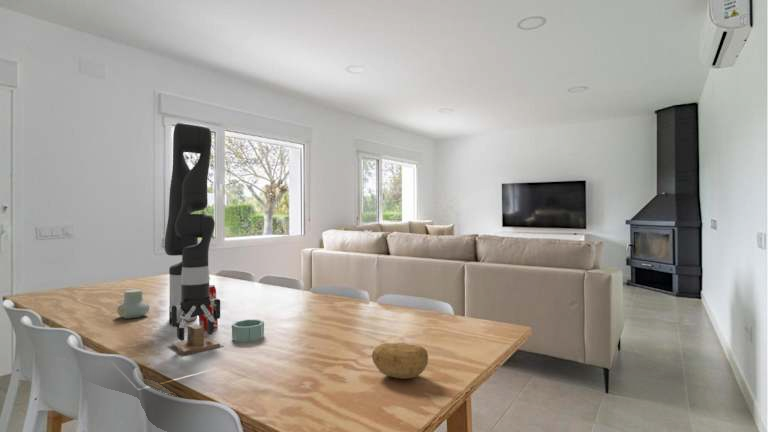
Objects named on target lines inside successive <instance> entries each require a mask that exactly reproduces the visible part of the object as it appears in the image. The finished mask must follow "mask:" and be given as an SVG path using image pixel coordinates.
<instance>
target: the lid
mask: <svg viewBox="0 0 768 432" xmlns="http://www.w3.org/2000/svg"><path fill="white" fill-rule="evenodd" d="M186 330H187V332H186V333H187V334H186V335H187V339H184V340H183V341H181V340H179V341H177V342H172V343H171V346H172V347H173V348H174V349H176V350H177V351H179V352H180V353H182V354H183V355H187V354H191V353H195V352H199V351H203V350H208V349H212V348H216V347H220V345H221V343H220V342H218V341H216V340H214V339H213V338H211V337H209V336H207V335H205V331H204V327H202V326H200V325H199V323H193V324H188V325H187V329H186Z"/></svg>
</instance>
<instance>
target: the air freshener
mask: <svg viewBox="0 0 768 432" xmlns="http://www.w3.org/2000/svg"><path fill="white" fill-rule="evenodd" d="M123 293H124V295H123V297H124V298H123V300H124V301H123V302H122V303H120V304H119V305H118V306H117V307H116V311H117V314H118V316H119V317H121V318H123V319H126V320H131V319H136V318H137V319H138V318H141V317H143V316H145V315H147V313H149V311H150V304H149V303H148V302H147V301H145V300H143V290H142V289H129V290H125V291H124V292H123ZM130 318H131V319H130Z"/></svg>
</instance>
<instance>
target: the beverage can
mask: <svg viewBox="0 0 768 432" xmlns="http://www.w3.org/2000/svg"><path fill="white" fill-rule="evenodd" d="M214 298H217V289H216V286H215V285H213V284H209V299H210V300H212V299H214ZM208 311H209V312H210V313H211V315H213V306H212V305H211V304H210V306H209V307H208ZM218 320H219V319H216V320H215V321H214V331H216V330H217V329H218V328H219V326H218ZM207 321H208V320H207V319H206V317H205V316H204V315H202V316H198V325H200V326H202V327H204V332H207Z"/></svg>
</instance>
